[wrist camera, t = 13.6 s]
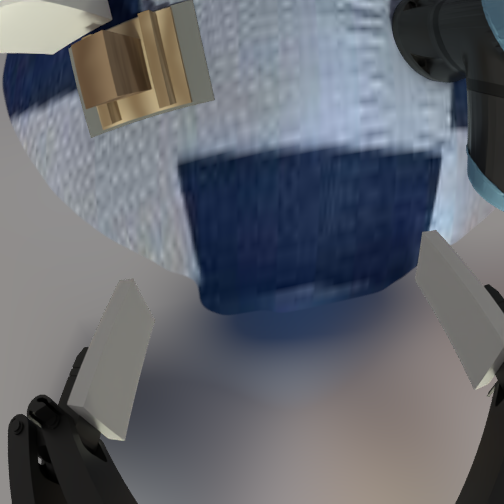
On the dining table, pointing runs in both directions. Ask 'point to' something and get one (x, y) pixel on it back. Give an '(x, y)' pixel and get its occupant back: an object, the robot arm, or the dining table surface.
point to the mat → (192, 64)
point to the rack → (152, 69)
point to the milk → (48, 23)
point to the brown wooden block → (110, 67)
